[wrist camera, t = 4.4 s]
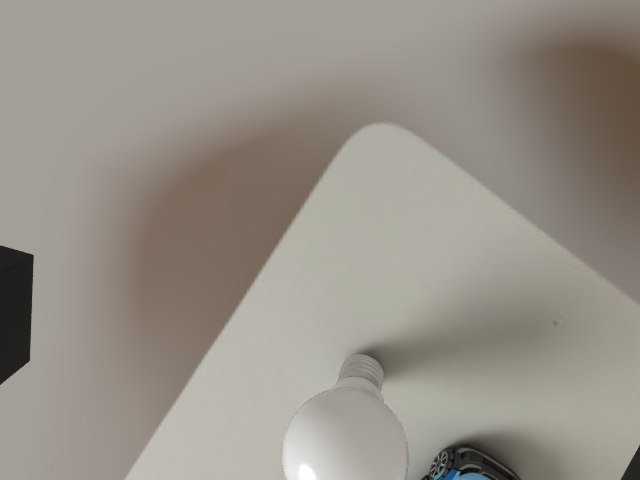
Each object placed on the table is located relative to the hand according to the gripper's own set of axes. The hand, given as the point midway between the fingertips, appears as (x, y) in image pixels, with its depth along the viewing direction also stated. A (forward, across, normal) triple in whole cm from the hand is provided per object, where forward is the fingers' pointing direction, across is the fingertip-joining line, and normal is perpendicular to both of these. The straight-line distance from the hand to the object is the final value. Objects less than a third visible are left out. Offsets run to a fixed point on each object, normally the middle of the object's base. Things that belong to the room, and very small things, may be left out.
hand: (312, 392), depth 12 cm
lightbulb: (+21, +2, -12) cm, 24 cm away
